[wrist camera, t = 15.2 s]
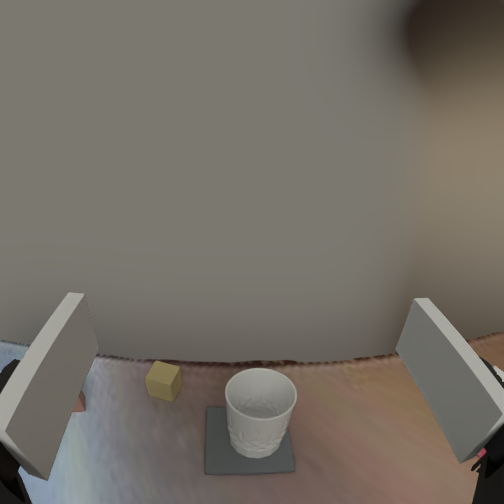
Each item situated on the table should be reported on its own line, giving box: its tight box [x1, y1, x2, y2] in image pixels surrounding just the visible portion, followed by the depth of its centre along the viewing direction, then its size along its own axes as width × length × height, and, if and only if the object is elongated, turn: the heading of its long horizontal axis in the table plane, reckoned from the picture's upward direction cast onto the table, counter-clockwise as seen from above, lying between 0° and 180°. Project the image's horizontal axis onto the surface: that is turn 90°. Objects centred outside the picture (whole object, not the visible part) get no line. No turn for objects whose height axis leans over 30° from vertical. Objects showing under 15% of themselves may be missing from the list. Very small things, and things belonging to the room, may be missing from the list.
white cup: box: [225, 368, 297, 458], centre depth 34 cm, size 8×8×10 cm
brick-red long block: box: [72, 390, 85, 412], centre depth 36 cm, size 6×3×4 cm, turn 114°
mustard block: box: [145, 361, 182, 402], centre depth 43 cm, size 4×4×4 cm
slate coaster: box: [205, 407, 296, 475], centre depth 36 cm, size 11×11×1 cm
